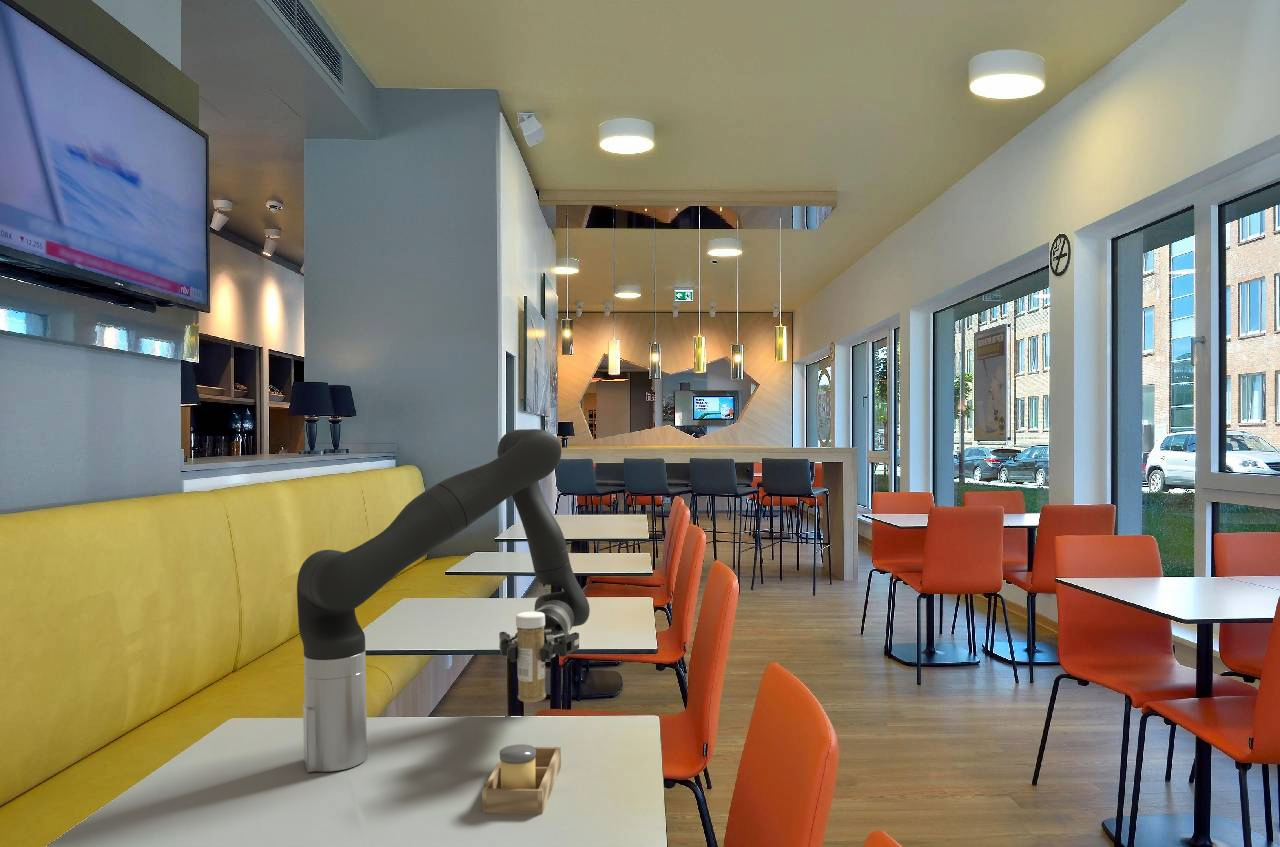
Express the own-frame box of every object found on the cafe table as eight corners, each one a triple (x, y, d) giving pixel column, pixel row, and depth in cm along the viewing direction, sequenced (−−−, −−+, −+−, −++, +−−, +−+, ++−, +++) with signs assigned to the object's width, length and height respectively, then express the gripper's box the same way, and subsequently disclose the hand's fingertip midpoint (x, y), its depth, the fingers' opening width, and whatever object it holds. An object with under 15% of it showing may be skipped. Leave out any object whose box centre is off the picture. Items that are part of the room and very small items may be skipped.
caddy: (542, 817, 116) (542, 790, 116) (482, 816, 117) (481, 790, 117) (561, 770, 132) (560, 747, 132) (508, 769, 132) (507, 746, 132)
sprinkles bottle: (551, 699, 136) (550, 614, 136) (524, 705, 133) (523, 618, 134) (538, 692, 140) (536, 609, 140) (512, 697, 137) (511, 613, 137)
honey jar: (506, 810, 117) (505, 760, 117) (495, 796, 121) (495, 748, 122) (541, 802, 119) (540, 753, 119) (529, 789, 124) (529, 742, 124)
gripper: (506, 608, 151) (482, 631, 134) (587, 608, 150) (573, 631, 133) (506, 650, 151) (482, 679, 134) (587, 651, 150) (573, 680, 133)
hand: (528, 655), depth 134 cm, fingers closed on sprinkles bottle, 4 cm apart
